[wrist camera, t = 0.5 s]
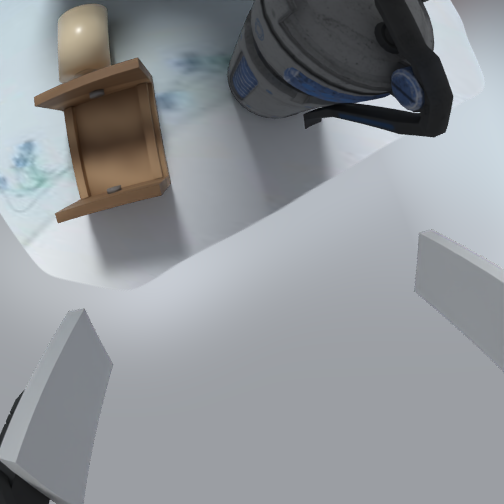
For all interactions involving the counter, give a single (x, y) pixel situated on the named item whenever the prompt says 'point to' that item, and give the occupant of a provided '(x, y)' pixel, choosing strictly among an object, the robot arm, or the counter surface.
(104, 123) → the holder
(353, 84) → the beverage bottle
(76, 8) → the cylinder
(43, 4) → the counter surface
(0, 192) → the counter surface
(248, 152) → the counter surface
